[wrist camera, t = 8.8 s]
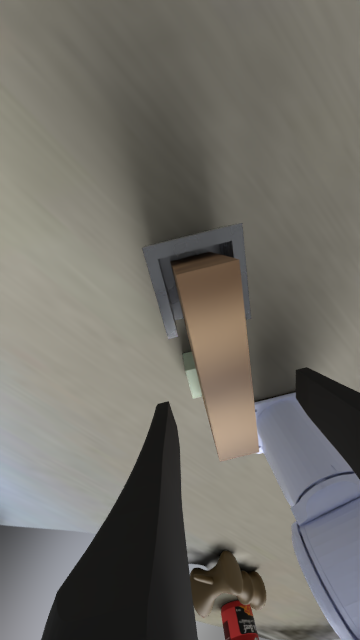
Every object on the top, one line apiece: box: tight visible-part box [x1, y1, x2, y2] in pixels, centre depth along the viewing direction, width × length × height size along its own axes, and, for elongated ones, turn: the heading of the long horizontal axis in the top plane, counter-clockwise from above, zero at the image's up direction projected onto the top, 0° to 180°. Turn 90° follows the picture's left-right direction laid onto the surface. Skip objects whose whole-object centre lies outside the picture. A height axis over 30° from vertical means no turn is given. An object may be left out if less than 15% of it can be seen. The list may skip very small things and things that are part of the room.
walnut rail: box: [170, 252, 259, 462], centre depth 15 cm, size 14×3×6 cm, turn 13°
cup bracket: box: [142, 223, 251, 339], centre depth 15 cm, size 6×6×6 cm
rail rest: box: [182, 352, 202, 399], centre depth 21 cm, size 4×5×3 cm
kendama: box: [190, 551, 266, 617], centre depth 40 cm, size 6×10×20 cm
